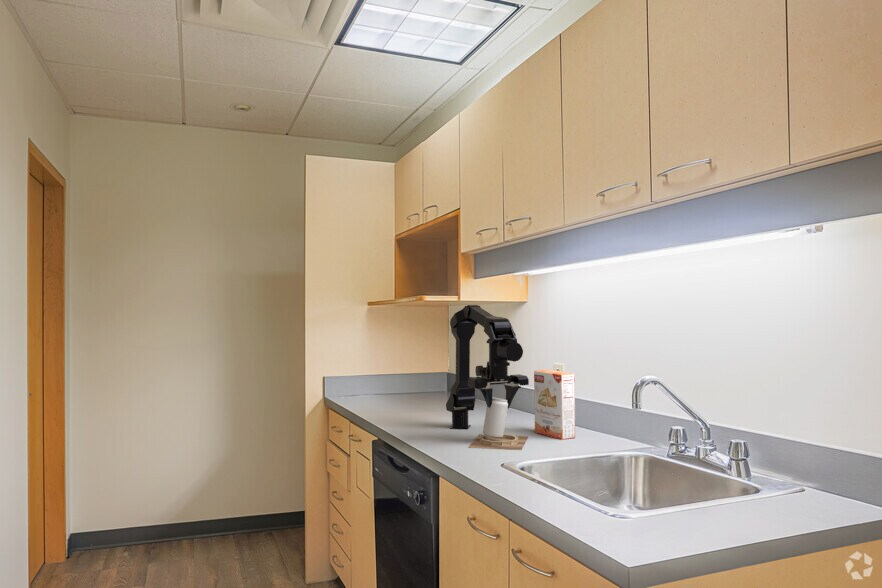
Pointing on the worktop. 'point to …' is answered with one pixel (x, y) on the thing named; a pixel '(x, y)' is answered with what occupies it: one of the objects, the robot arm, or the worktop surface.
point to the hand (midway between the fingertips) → (498, 409)
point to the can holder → (499, 442)
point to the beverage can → (495, 418)
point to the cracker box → (554, 403)
